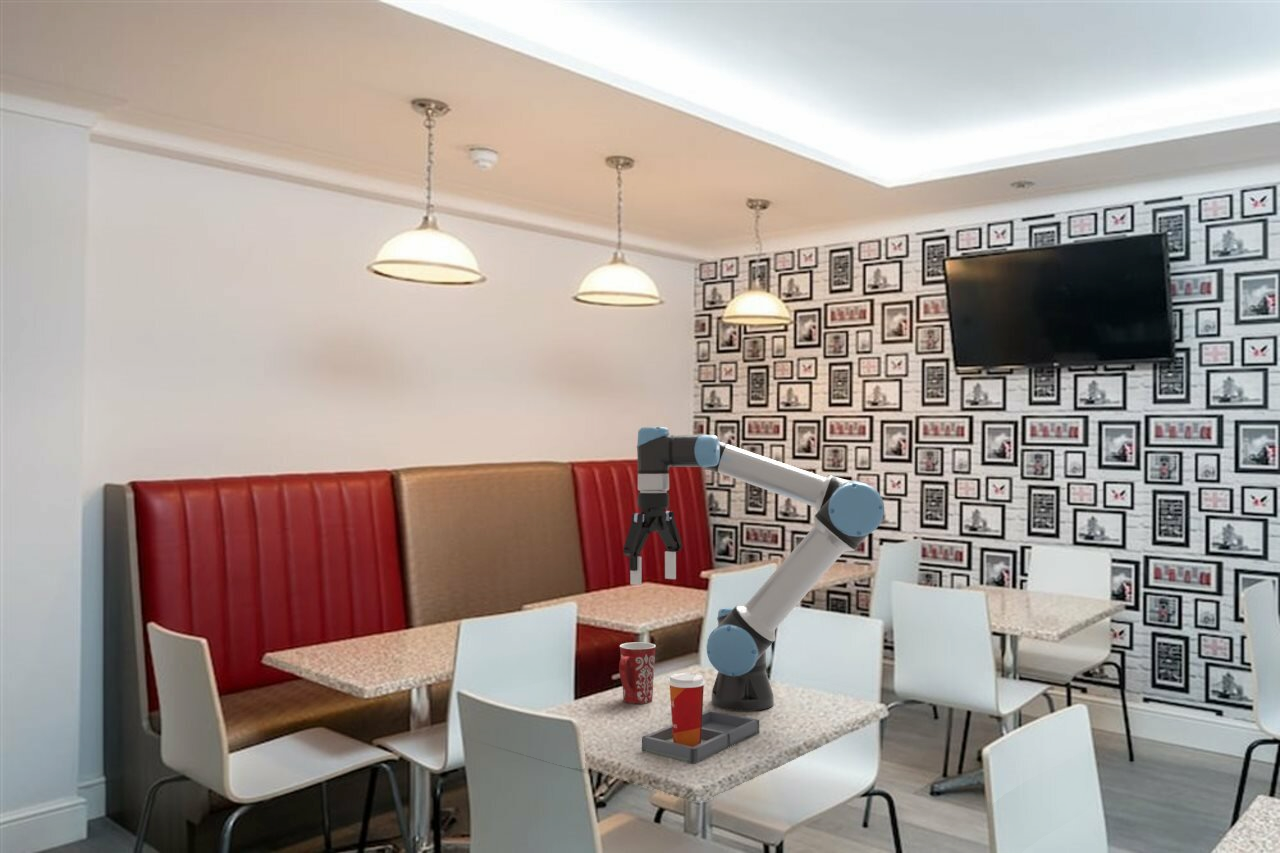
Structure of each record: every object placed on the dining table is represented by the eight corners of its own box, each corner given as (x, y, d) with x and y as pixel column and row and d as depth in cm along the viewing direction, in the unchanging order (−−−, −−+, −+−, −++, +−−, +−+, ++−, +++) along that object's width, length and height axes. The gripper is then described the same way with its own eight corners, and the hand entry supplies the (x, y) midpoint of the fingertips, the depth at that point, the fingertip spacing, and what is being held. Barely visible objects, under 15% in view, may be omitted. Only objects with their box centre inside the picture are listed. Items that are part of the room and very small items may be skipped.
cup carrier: (709, 722, 200) (709, 709, 201) (759, 732, 192) (759, 719, 193) (641, 750, 181) (641, 736, 181) (694, 763, 173) (694, 749, 173)
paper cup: (679, 737, 187) (679, 670, 188) (712, 743, 183) (711, 674, 184) (661, 747, 181) (660, 678, 181) (694, 753, 177) (694, 682, 177)
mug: (631, 693, 226) (631, 640, 227) (662, 698, 221) (662, 643, 222) (604, 705, 215) (604, 649, 216) (636, 710, 210) (636, 653, 211)
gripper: (671, 490, 223) (671, 575, 222) (607, 493, 203) (607, 586, 202) (695, 490, 218) (696, 577, 217) (633, 493, 198) (633, 588, 197)
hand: (653, 581), depth 209 cm, fingers open, 13 cm apart
